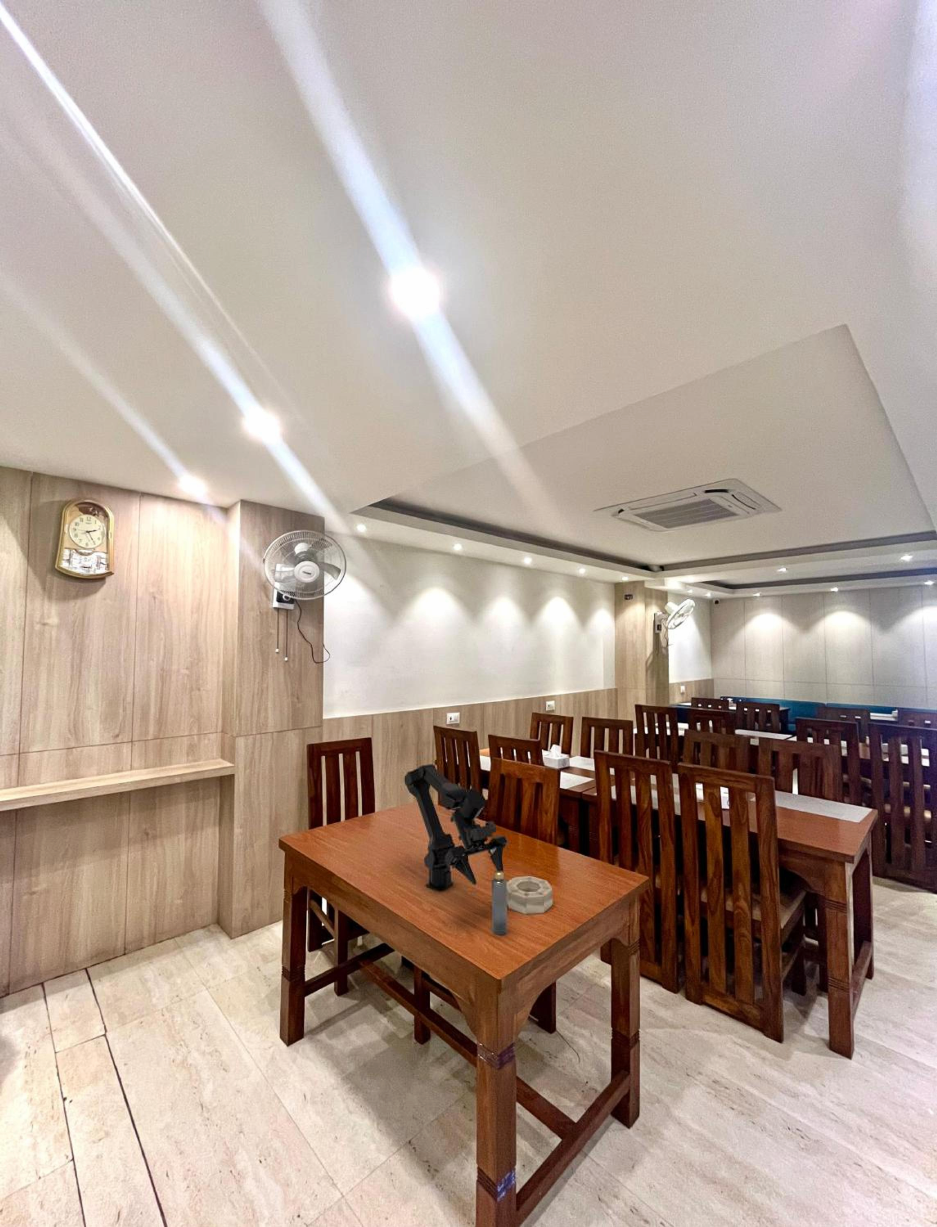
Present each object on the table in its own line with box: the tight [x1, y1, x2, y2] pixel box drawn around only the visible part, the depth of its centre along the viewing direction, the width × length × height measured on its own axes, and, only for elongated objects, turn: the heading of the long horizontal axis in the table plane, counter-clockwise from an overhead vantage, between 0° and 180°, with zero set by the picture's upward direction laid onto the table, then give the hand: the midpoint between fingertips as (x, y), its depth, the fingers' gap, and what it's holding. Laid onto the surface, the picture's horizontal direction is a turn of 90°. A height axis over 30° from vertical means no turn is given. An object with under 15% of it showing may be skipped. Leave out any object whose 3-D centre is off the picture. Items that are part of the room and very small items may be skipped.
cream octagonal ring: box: [507, 875, 553, 915], centre depth 149 cm, size 13×13×4 cm
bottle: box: [491, 870, 508, 936], centre depth 134 cm, size 4×4×15 cm
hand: (489, 879), depth 138 cm, fingers open, 9 cm apart
